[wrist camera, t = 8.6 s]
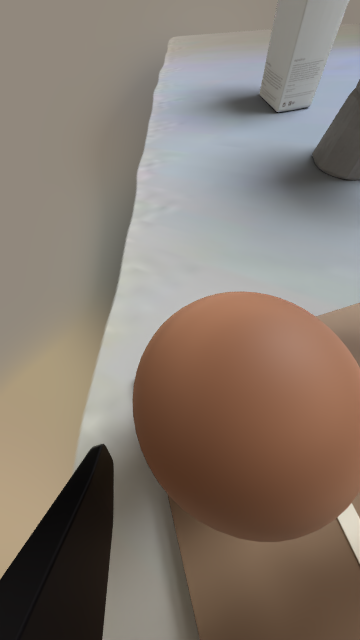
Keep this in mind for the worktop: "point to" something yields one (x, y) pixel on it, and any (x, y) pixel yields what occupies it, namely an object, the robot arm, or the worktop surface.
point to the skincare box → (299, 51)
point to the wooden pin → (251, 416)
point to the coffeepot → (342, 142)
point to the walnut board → (278, 565)
